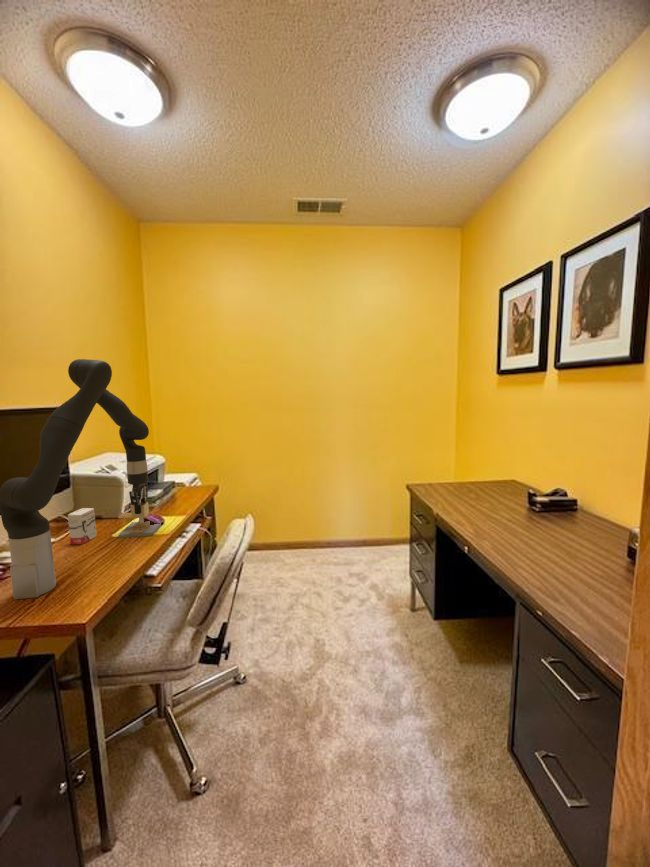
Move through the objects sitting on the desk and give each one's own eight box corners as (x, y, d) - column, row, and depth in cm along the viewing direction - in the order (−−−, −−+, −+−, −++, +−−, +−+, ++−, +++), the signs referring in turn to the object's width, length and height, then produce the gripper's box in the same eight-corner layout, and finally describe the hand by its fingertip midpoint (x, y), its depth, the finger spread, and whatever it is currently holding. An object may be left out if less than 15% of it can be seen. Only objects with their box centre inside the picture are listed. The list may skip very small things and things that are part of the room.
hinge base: (153, 535, 144) (151, 515, 143) (118, 537, 142) (116, 518, 141) (163, 522, 157) (162, 505, 156) (132, 525, 156) (130, 507, 155)
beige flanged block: (148, 513, 151) (148, 501, 151) (144, 516, 147) (143, 504, 146) (123, 514, 150) (122, 503, 150) (118, 518, 145) (117, 506, 145)
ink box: (82, 544, 136) (79, 514, 134) (70, 545, 136) (66, 515, 135) (97, 535, 144) (94, 507, 143) (85, 536, 144) (82, 507, 143)
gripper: (140, 474, 140) (144, 516, 142) (152, 467, 154) (155, 505, 156) (120, 475, 139) (124, 518, 141) (134, 468, 153) (137, 506, 155)
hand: (140, 511), depth 149 cm, fingers closed on beige flanged block, 5 cm apart
